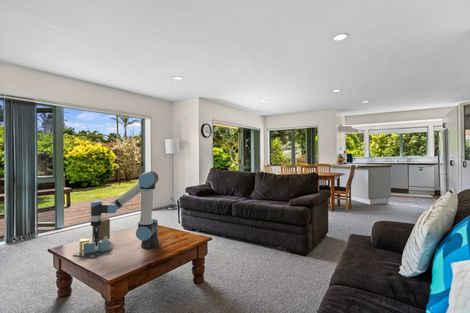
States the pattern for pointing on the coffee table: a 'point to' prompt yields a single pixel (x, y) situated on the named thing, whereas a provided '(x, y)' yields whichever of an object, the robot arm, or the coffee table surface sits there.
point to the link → (101, 246)
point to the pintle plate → (91, 254)
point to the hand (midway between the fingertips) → (95, 247)
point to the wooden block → (103, 230)
